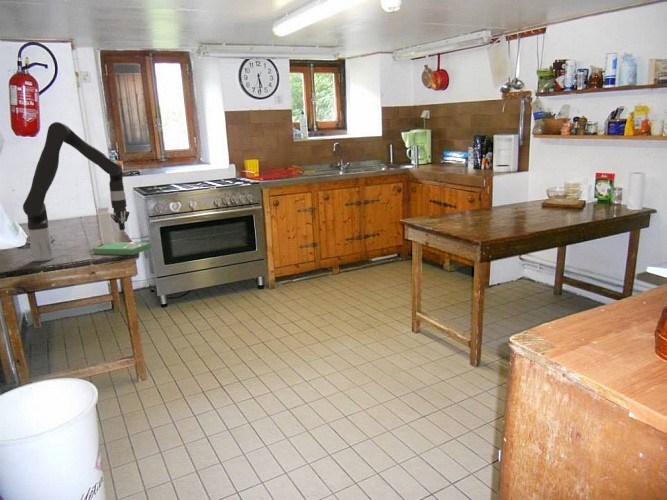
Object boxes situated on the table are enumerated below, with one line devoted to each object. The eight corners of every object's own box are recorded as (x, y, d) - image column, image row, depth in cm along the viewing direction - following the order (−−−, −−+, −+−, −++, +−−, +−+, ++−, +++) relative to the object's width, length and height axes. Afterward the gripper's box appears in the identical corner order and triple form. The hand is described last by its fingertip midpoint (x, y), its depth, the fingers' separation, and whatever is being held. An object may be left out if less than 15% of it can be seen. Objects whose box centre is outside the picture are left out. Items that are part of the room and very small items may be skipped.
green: (133, 254, 267) (132, 249, 267) (93, 253, 275) (92, 248, 274) (151, 247, 282) (150, 242, 282) (113, 247, 289) (112, 242, 289)
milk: (102, 243, 300) (96, 208, 295) (113, 242, 304) (107, 206, 299) (104, 245, 296) (98, 208, 290) (115, 243, 299) (109, 207, 294)
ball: (132, 243, 272) (124, 243, 274) (133, 252, 274) (125, 252, 275) (137, 241, 277) (130, 241, 278) (139, 250, 278) (131, 249, 280)
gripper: (115, 200, 264) (120, 232, 268) (131, 197, 276) (135, 227, 280) (104, 200, 266) (108, 232, 270) (120, 197, 278) (124, 227, 282)
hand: (122, 229), depth 275 cm, fingers closed
